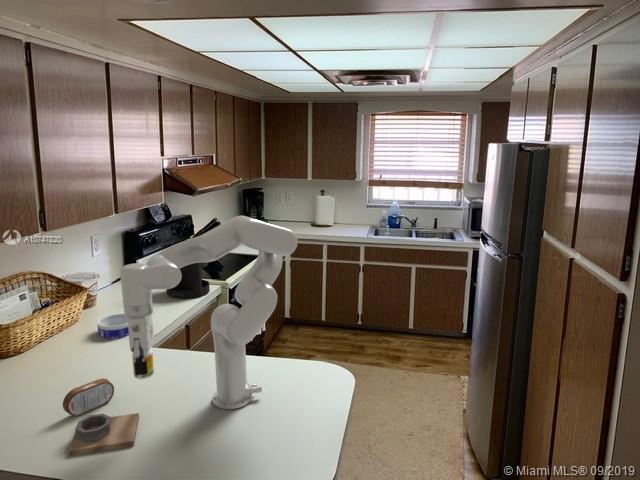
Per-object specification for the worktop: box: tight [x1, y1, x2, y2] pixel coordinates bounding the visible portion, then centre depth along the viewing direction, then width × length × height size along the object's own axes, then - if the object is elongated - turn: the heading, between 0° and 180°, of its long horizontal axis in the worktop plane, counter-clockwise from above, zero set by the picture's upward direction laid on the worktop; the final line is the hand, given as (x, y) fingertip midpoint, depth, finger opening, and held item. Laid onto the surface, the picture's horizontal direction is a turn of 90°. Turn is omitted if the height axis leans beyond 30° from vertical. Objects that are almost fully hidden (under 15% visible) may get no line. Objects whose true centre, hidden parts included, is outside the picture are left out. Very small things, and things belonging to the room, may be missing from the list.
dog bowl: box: [96, 312, 129, 340], centre depth 207 cm, size 15×15×6 cm
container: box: [165, 262, 211, 299], centre depth 258 cm, size 22×23×25 cm
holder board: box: [68, 412, 140, 457], centre depth 134 cm, size 16×14×4 cm
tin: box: [62, 378, 115, 417], centre depth 147 cm, size 15×3×8 cm, turn 141°
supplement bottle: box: [131, 348, 155, 380], centre depth 134 cm, size 5×5×10 cm
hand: (143, 368), depth 135 cm, fingers closed on supplement bottle, 5 cm apart
